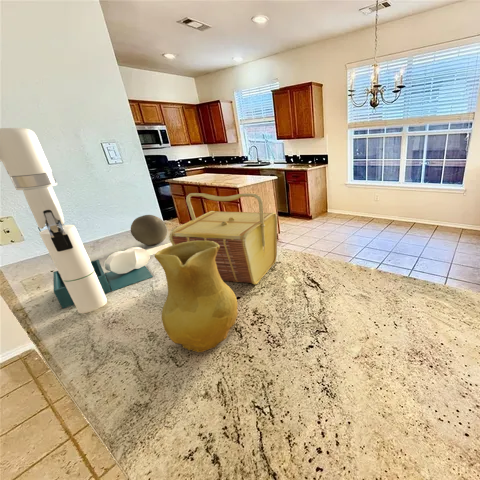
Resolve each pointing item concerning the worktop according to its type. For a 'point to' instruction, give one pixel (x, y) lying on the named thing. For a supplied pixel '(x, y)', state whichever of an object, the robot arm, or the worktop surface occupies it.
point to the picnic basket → (234, 238)
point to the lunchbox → (101, 281)
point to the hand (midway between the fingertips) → (64, 245)
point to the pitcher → (196, 296)
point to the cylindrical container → (76, 271)
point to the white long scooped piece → (130, 259)
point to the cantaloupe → (149, 230)
